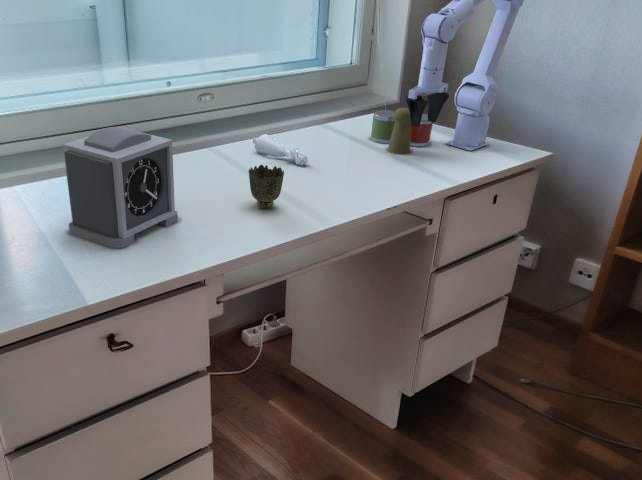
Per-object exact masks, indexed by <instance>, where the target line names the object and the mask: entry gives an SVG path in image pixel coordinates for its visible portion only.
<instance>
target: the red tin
mask: <svg viewBox="0 0 642 480" xmlns="http://www.w3.org/2000/svg"><path fill="white" fill-rule="evenodd" d="M433 124H434V122H430V121H428V113H423V114H422V118H421V123H420V125H419V127H413V126H411V132H410V147H411V146H412V147H418V148H419V147H427V146H429V145H430V142H431V136H432V129H433Z"/></svg>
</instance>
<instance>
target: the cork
mask: <svg viewBox="0 0 642 480" xmlns="http://www.w3.org/2000/svg"><path fill="white" fill-rule="evenodd" d="M394 112H395V113H394V119H395V124H394V128H393V132H392V136H391V139H390V143H388V146H387V147H388V148H387V151H388V152H390V153H392V154H396V155H406V154H410V153H411V146H410V132H411V121H410V112H409V108H408V107H398V108H397V109H396V110H394Z"/></svg>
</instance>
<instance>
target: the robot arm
mask: <svg viewBox="0 0 642 480" xmlns="http://www.w3.org/2000/svg"><path fill="white" fill-rule="evenodd" d="M484 1H485V0H451V1H450V2H449V3H448V4H446V6H444V7H442V8H441V9H440V10H439V11H438V12H437V13H430V14H428V16H427V17H426V18H425V19H424V20H423V23H422V25H421V26H420V33H421V36H422V43H421V44H422V47H423V50H422V55H421V62H420V68H419V74H418V75H419V76H418V81H417V82H418V83H417V85H415V86H414V87H413V88H411V89H408V95H406V97H405V103H406V105H407V108H408V109H409V112H410V121H411V126H413V127H419V125H420V123H421V118H422V114H424V111H425V109H426V107H428V109H427V115H428V121H430V122H433V124H435V123H437V121H438V118H439V115H440V113H441V111H442V109H443V107H444V105H445V103H446V102H447V101H448V99H449V98H450V94H449V93H447V92H448V89H449V83H446V82H443V79H444V78H443V77H444V71H445V65H446V59H447V52H448V47H449V42H450V41H452V40H453V39H454V37H455V35H456V33H457V31H458V30H459V28H460V26H461V25H462V24H464V23H465V22H467V20H469V19H470V18H471V17H472V16H473V14H474V11H475V10H474V9H475V8H476V7H477V6H479V5H480V4H482V3H483V2H484ZM490 1H491V3H492V4H494V6H495V9H496V10H495V14H494V16H493V19H492V22H491V24H490V27H489V29H488V32H487V35H486V37H485V40H484V42H483V46H482V49H481V51H480V53H479V56H478V59H477V62H476V64H475V67H474V69H473V72H472V73H470V74H468V75H466V76H465V77H463V79H462V81H461V84H460V85H459V87H457V89H456V91H455V93H454V99H453V100H454V105H455V107H456V111H457V112H458V113H457V118H456V123H455V129H454V133H453V139H452V140H448V141H447V142H446V143H445V144H446V145H448V146H451V147H456V148H458V149H462V150H466V151H473V150H477V149H480V148H483V147H485V146H486V147H487V146H488V145H489V143H488V142H486V140H487V135H488V132H489V127H490V116H489V113H490V112H491V111H492V110H493V109H494V107H495V103H496V97H497V93H498V90H499V87H498V85H497V83H496V81H495V79H494V75H495V72H496V70H497V67H498V65H499V63H500V60H501V57H502V54H503V52H504V49H505V47H506V44H507V41H508V39H509V37H510V34H511V31H512V29H513V27H514V25H515V21H516V19H517V16H518V14H519V11H520V8H522V7H523V4H524V1H525V0H490ZM426 96H427V100H426V99H424V98H423V97H426ZM427 104H428V106H427Z"/></svg>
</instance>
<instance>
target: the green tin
mask: <svg viewBox="0 0 642 480" xmlns="http://www.w3.org/2000/svg"><path fill="white" fill-rule="evenodd" d="M394 113H395V110H387V109H382V110H381V109H380V110H379V109H378V110H376V111H374V112H373V116H372V124H371V132H370V140H371V141H373V142H375V143H378V144H389V143H390V139H391V136H392V132H393V128H394V124H395V119H394Z"/></svg>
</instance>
